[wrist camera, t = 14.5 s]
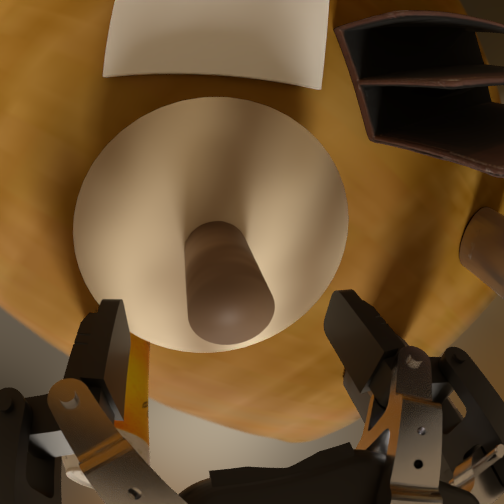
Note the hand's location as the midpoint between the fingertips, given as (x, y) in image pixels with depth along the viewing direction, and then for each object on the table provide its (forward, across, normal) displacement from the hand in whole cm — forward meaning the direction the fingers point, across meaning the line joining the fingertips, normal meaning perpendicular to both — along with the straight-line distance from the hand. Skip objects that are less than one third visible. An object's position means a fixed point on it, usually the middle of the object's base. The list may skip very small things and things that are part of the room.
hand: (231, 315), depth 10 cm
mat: (+12, 0, -17) cm, 21 cm away
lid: (+6, 0, 0) cm, 6 cm away
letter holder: (+12, -19, -15) cm, 27 cm away
